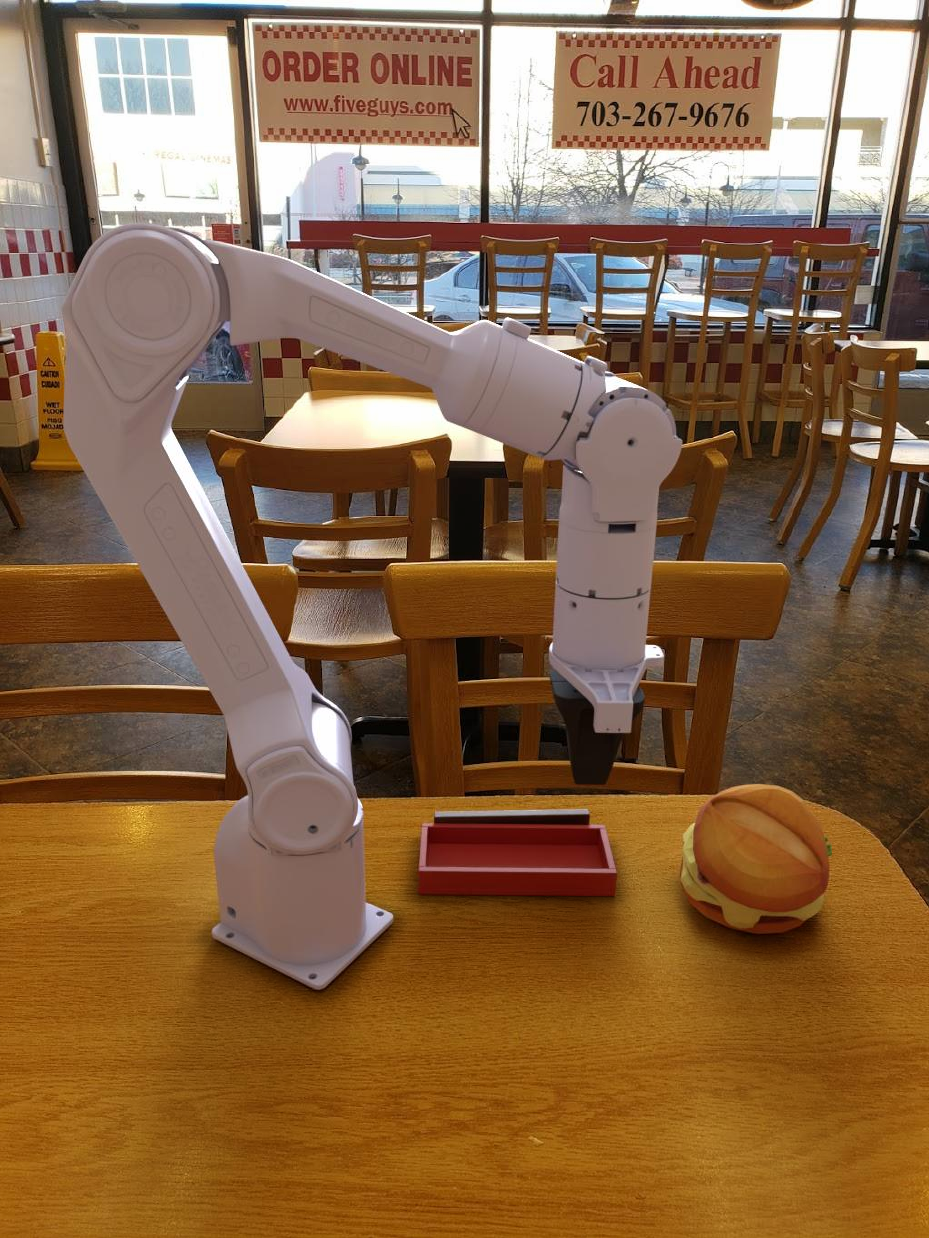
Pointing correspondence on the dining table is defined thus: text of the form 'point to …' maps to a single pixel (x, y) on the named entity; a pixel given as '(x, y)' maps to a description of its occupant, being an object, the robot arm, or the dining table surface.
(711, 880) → the cheeseburger
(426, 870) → the tray
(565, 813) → the back rail
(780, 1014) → the dining table surface
